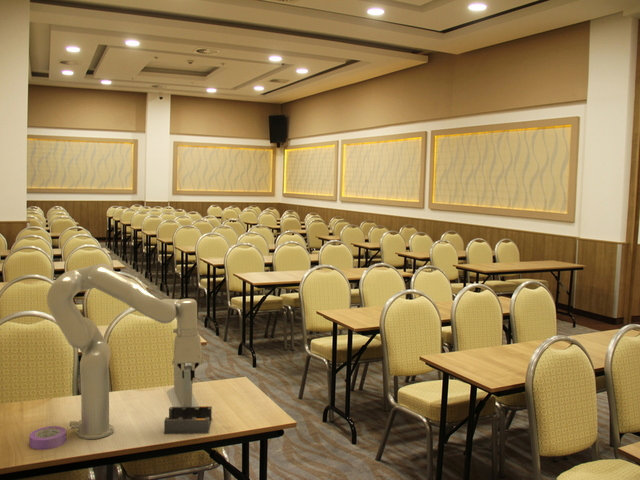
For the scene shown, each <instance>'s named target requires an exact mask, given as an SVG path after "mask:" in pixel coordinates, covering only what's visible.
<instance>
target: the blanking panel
mask: <svg viewBox="0 0 640 480" xmlns="http://www.w3.org/2000/svg"><path fill="white" fill-rule="evenodd" d="M193 384H194V380H193V381H191V363H187V365H186V367H185V370H184V393H187V392H190V390H191V387H192V388H193Z"/></svg>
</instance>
